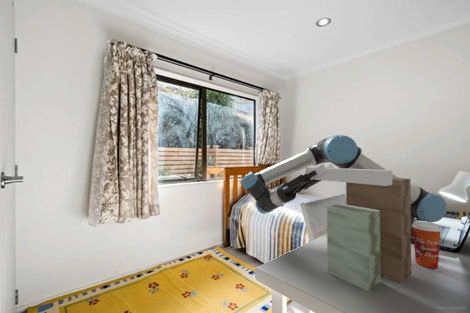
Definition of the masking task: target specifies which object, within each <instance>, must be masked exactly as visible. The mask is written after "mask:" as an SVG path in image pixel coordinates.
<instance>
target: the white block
mask: <svg viewBox="0 0 470 313" xmlns="http://www.w3.org/2000/svg"><path fill="white" fill-rule="evenodd" d="M317 167H318V166H317ZM317 167H316V166H313V167H311V166H309V167H306V168H305V174H308V173H309V172H310V171H312V170H314V169H315V168H317ZM326 170H327V172H325V173H324V174H322V175H320V176H318V177H317V178H315V180H322V181H327V182H340V183H346V182H348V183H358V184H369V185H380V186H389V185H392V174H393V170H391V169H390V170H389V169H386V170H369V169H344V168H339V167H337V168H336V167H334V168H326Z"/></svg>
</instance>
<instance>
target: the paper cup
mask: <svg viewBox="0 0 470 313" xmlns="http://www.w3.org/2000/svg"><path fill="white" fill-rule="evenodd" d="M412 227H413V235H414V238H413V243H414V245H413V246H414V258H415V263H416V265H418V266H420V267H422V268H425V269H430V270H437V269H438V268H439V257H440V243H441V232H442V231H443V229H442V227H441V226H440V225H439V224H437V223H435V222H427V221H422V220H415V221H414V222H413V224H412Z"/></svg>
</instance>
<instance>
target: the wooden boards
mask: <svg viewBox="0 0 470 313" xmlns="http://www.w3.org/2000/svg"><path fill="white" fill-rule="evenodd" d="M345 184H346V185H345V191H346V192H345V195H346V196H345V199H346V200H345V201H346V203H345V204H344V203H338V204H332V205H328V206H327V207H326V215H327V216H326V233H327V234H326V236H327V237H326V242H327V244H326V246H327V248H326V249H327V250H326V251H327V254H326V255H327V261H326V262H327V264H326V265H327V267H326V268H327V273H328V274H330V275H333V277H337V278H339V279H341V280H342V281H345V282H347V283H349V284H351V285H353V286H356V287H358V288H359V289H362V290H364V291H366V292H369V291H371V290H372V289H374V288H375V286H377V285H378V284H379V283H380V282H381V279H382V278H381V276H382V277H384V278H387V279H389V280H392V281H394V282H397V283H400V284H403V283H404V282H406V280H407V279H409V278H410V277H411V276H412V238H411V201H410V184H411V178H404V177H403V178H402V177H398V178H392V185H389V186H380V185H369V184H358V183H348V182H345Z"/></svg>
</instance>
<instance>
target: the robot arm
mask: <svg viewBox="0 0 470 313" xmlns="http://www.w3.org/2000/svg"><path fill="white" fill-rule="evenodd" d="M325 163H331V164H329V165H327V166H326V165H324V164H325ZM317 165H319V166H317ZM334 165H335V166H336V167H337V168H344V169H369V170H387V169H386V168H384V167H382V165H380V164H378V163H377V162H375V161H374V160H372V159H371V158H369V157H367V155H364V154H363V150H362V148H361V147H359V146H358V145H357V143H356V141H355V140H354V139H353V138H351V137H349V136H348V135H343V134H342V135H341V134H337V135H332V136H330V137H327V138H323V139H322V140H319V141H318V142H316V143H315V144H313V145H311V146H309V147H307V148H305V151H303V152H302V151H301V152H300V153H298V154H295V155H293V156H292V157H290V158H287V159H285V160H283V161H281V162H278V163H276V164H274V165H271V166H269V167H266V168H264V169H262V170H260V171H258V172H256V173H254V172H253V171H250V172H248V173H247V174H245V176H244V177H242V178H241V180H240V181H239V182H240V184H241V186H242V187H243V189H244V190H245V191H246V192H248V194H249V195H250V196H251V197H252V198H253V199H254V200H255V207H256V209H257V211H258V212H259V213H260V214H268V213H271V212H273V211H274V210H276V209H278V208H280V207H282V208H283V207H284V206H285V205H286V204H287V203H290V202H291V201H293V200H295V199H296V198H297V193H300V192H301V191H303V190H304V191H305V190H307V189H309V188H310V187H312V186H315V185H316V184H318V183H319V182H322V181H323V180H315V178H317V177H318V176H320V175H322V174H324V173H325V172H327V170H326V168H335V167H334ZM311 166H313V167H316V166H317V168H315V169H314V170H312V171H310V172H309V173H308V174H306V173H304V174H299V176H297V177H295V178H293V179H292V180H290V181H289V182H287V181H285V182H282V183H281V184H280V185H278V186H276V187H275V188H273V189H271V190H270V189H269V188H268V187H267V186H268V185H269V184H271V183H274V182H276V181H278V180H281V179H282V178H286V177H287V176H290V175H292V174H294V173H297V172H299V171H301V170H304V169H306V168H307V167H311ZM392 178H399V177H398V176H397V175H395V174H394V173H392ZM410 201H411V237H414V235H413V227H412V224H413V222H414V221H416V219H418V220H419V221H423V222H430V223H436V222H439V221H441V220H442V219H443V218H444V217H445V215H446V213H447V211H448V210H447V209H448V207H447V202H446V200H445V199H444V198H443V196H441V195H439V194H438V193H432V192H429V191H427V190H425V189H424V188H422V187H421V186H419V185H418V184H415V183H410Z"/></svg>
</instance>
